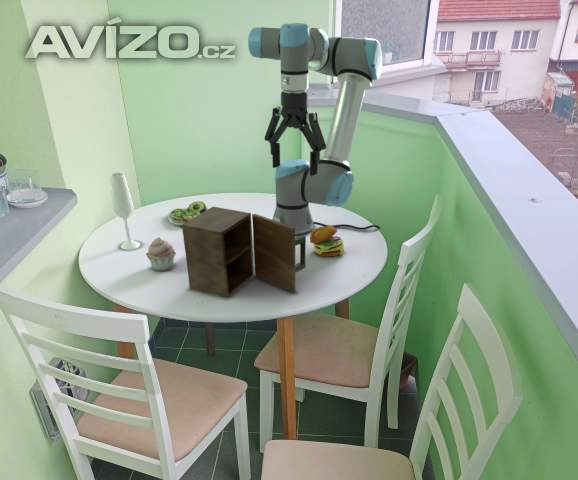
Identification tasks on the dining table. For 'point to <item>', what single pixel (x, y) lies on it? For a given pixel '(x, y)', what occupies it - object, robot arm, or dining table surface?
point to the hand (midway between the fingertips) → (294, 170)
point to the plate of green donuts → (186, 213)
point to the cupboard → (219, 251)
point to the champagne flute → (122, 205)
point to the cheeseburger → (326, 241)
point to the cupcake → (161, 255)
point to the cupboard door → (277, 252)
